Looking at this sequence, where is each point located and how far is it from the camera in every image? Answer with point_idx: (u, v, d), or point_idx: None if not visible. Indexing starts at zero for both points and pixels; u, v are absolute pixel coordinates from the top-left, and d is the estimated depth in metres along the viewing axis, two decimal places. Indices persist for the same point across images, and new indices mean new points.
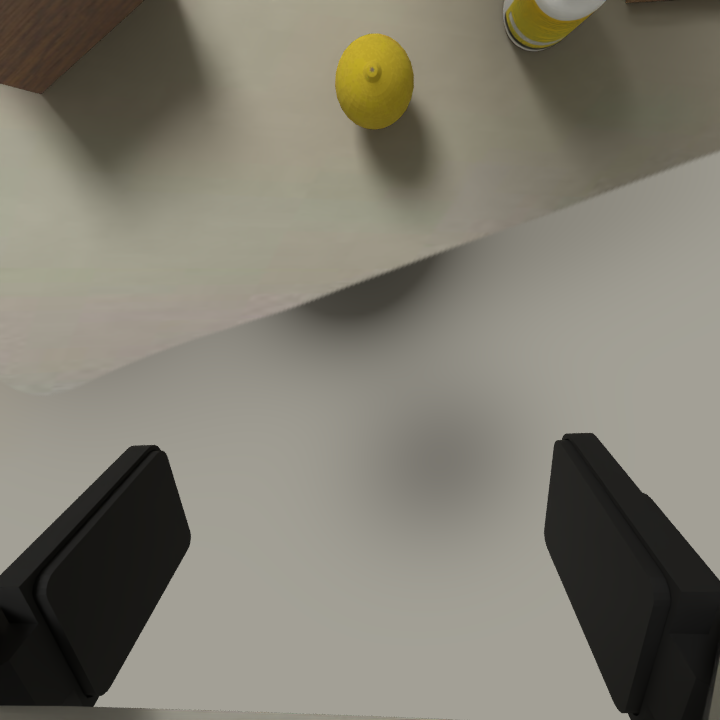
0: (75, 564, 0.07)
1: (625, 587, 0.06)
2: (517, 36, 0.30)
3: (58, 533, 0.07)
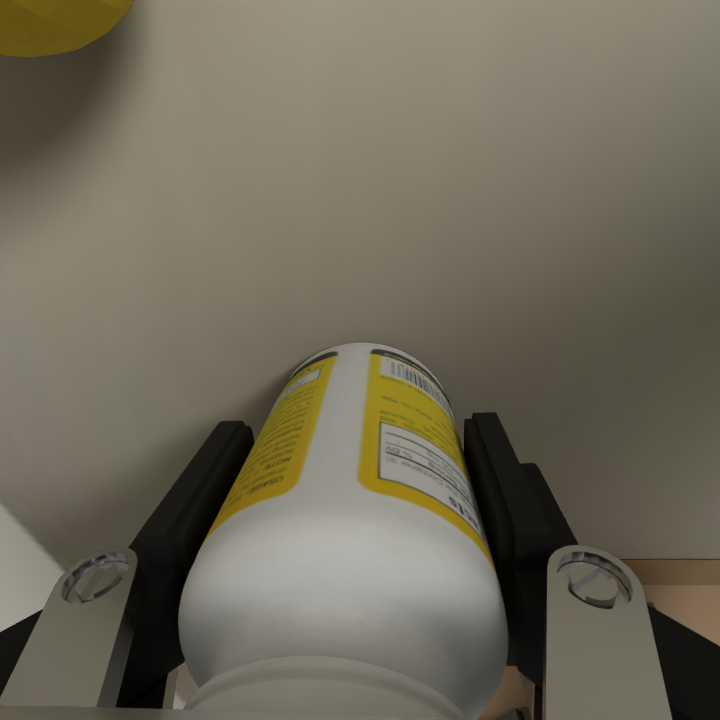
0: (200, 519, 0.08)
1: (492, 537, 0.07)
2: (279, 396, 0.11)
3: (182, 491, 0.08)
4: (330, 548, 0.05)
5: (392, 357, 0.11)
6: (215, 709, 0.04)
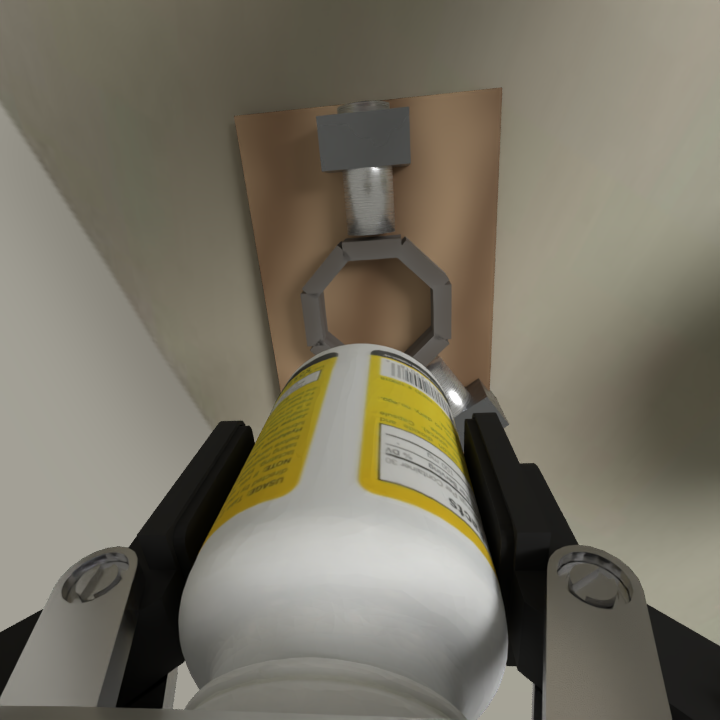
0: (200, 519, 0.08)
1: (491, 537, 0.07)
2: (279, 396, 0.11)
3: (182, 492, 0.08)
4: (331, 550, 0.05)
5: (392, 358, 0.11)
6: (215, 710, 0.04)
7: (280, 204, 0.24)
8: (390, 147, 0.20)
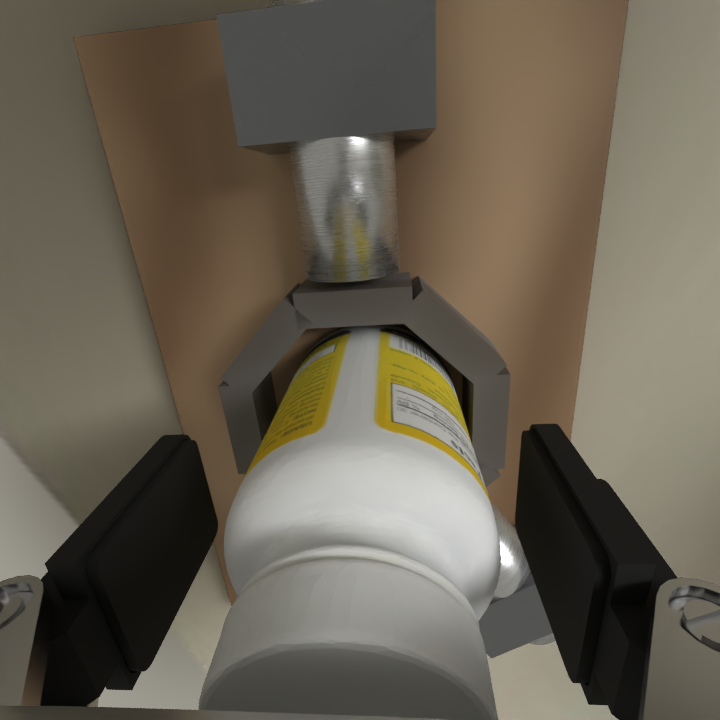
0: (121, 544, 0.07)
1: (575, 564, 0.07)
2: (298, 370, 0.12)
3: (104, 514, 0.08)
4: (355, 469, 0.07)
5: (399, 334, 0.12)
6: (269, 582, 0.06)
7: (181, 215, 0.13)
8: (390, 90, 0.09)
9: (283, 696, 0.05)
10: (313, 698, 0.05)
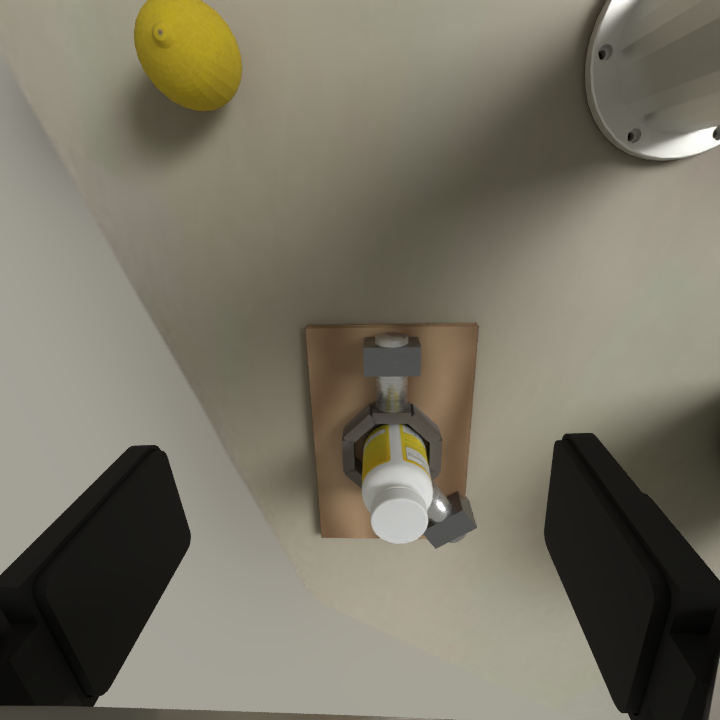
0: (75, 564, 0.07)
1: (625, 587, 0.06)
2: (370, 436, 0.36)
3: (58, 532, 0.07)
4: (399, 470, 0.30)
5: (405, 425, 0.36)
6: (384, 492, 0.29)
7: (330, 379, 0.36)
8: (408, 367, 0.32)
9: (389, 511, 0.28)
10: (394, 511, 0.28)
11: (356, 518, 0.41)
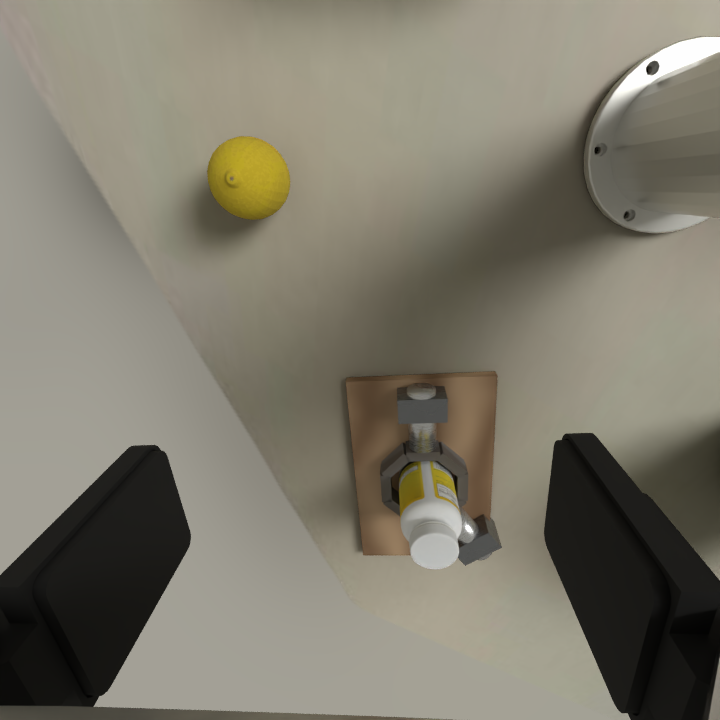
0: (75, 564, 0.07)
1: (625, 587, 0.06)
2: (404, 471, 0.41)
3: (58, 532, 0.07)
4: (433, 507, 0.35)
5: None
6: (420, 527, 0.34)
7: (368, 423, 0.41)
8: (436, 415, 0.37)
9: (425, 543, 0.34)
10: (430, 543, 0.34)
11: (393, 539, 0.46)
